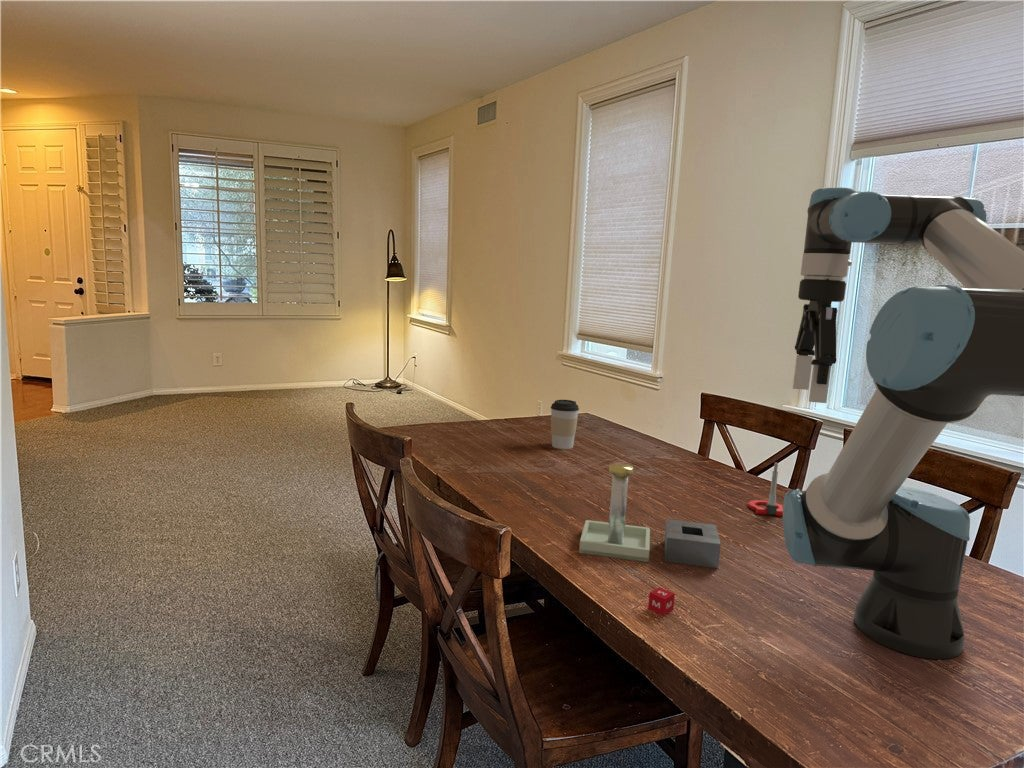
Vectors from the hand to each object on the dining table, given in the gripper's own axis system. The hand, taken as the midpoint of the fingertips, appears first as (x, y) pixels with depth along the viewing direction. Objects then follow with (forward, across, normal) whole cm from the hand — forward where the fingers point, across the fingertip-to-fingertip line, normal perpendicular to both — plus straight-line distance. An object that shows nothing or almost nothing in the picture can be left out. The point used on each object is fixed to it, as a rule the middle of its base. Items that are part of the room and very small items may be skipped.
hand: (808, 395), depth 119 cm
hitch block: (+35, +2, +18) cm, 39 cm away
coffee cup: (+35, +74, +54) cm, 98 cm away
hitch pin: (+34, +2, +33) cm, 47 cm away
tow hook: (+35, +35, -2) cm, 50 cm away
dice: (+35, -22, +24) cm, 48 cm away
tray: (+35, +2, +33) cm, 48 cm away
